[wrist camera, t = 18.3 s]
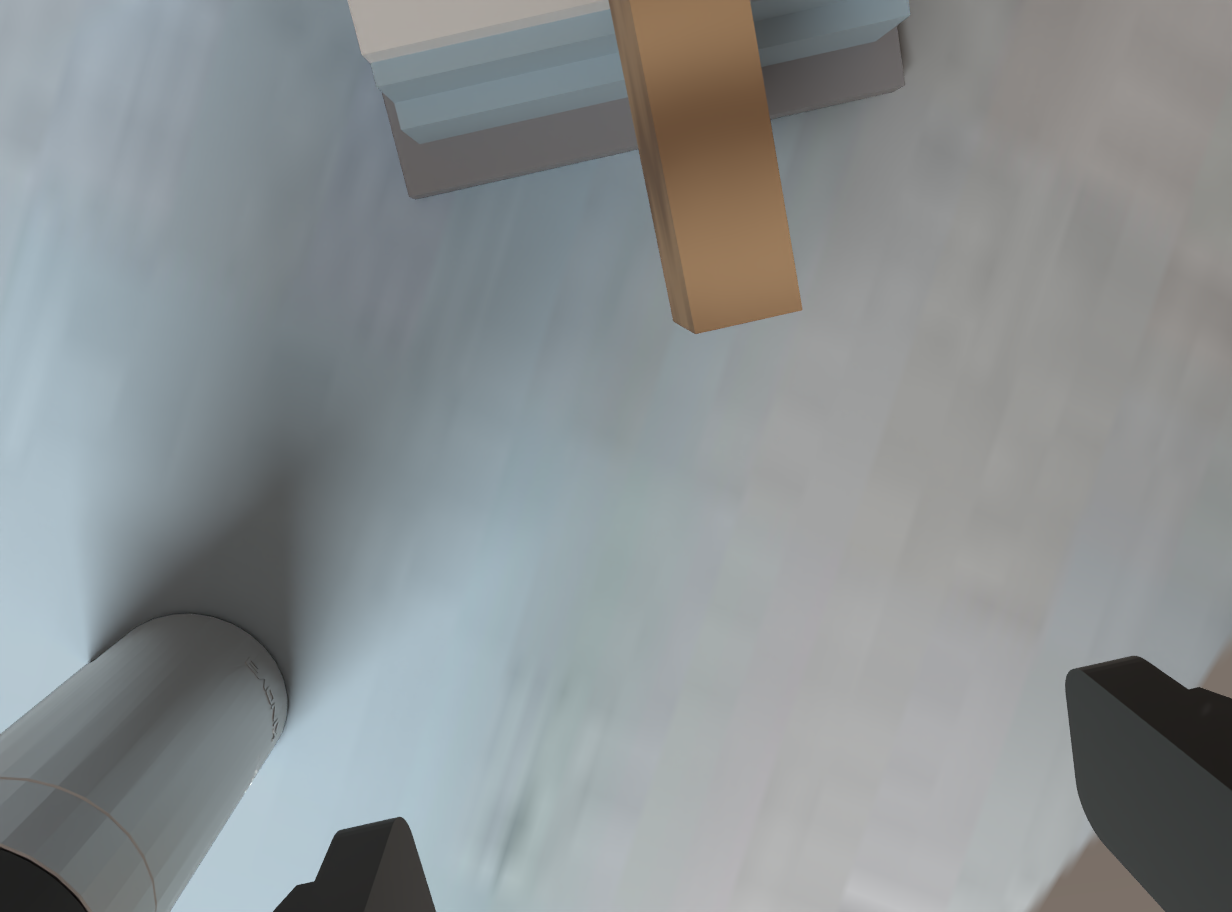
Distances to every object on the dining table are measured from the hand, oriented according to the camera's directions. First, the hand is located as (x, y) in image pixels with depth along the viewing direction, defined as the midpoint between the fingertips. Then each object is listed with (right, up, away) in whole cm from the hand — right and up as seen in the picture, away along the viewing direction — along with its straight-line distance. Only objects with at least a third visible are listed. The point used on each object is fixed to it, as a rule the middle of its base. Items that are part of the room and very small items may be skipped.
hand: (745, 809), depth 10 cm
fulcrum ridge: (-1, +23, +28) cm, 36 cm away
